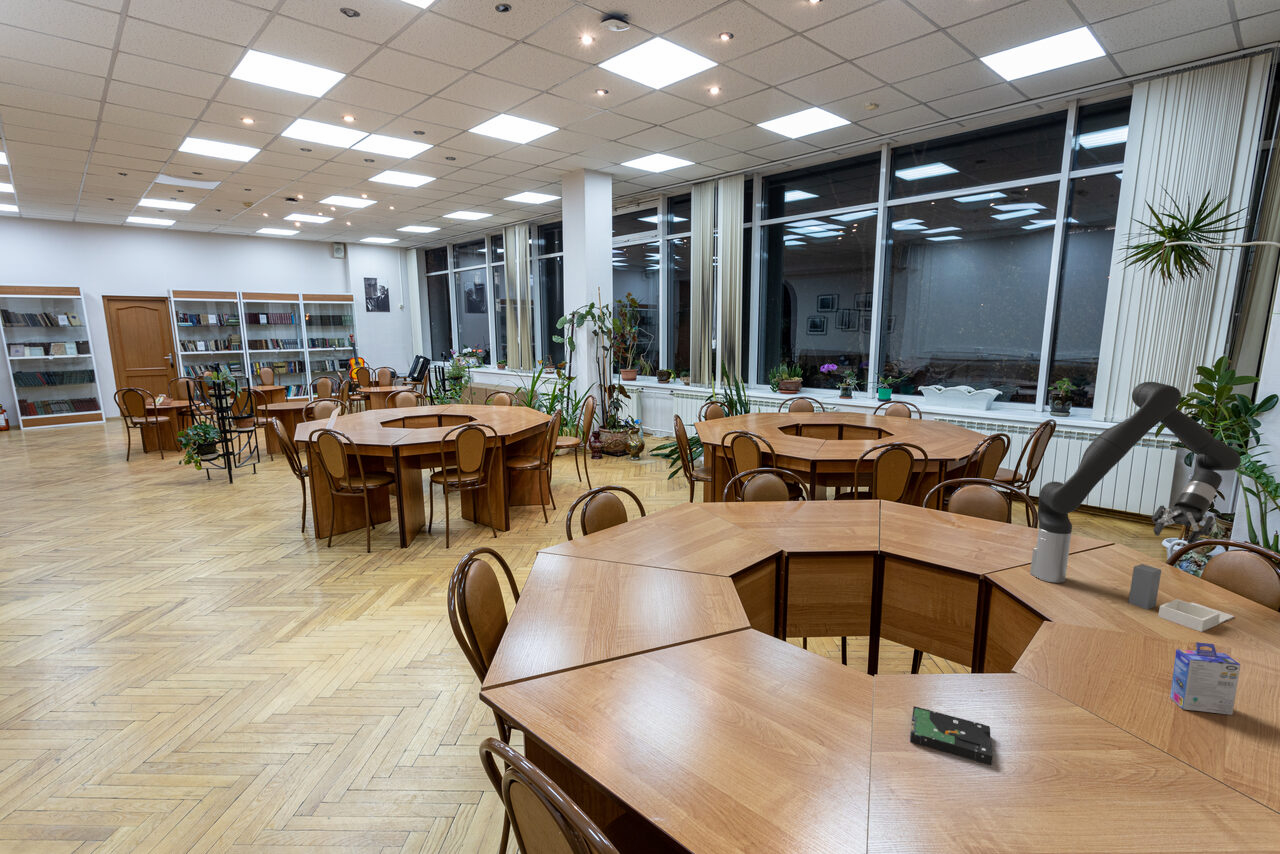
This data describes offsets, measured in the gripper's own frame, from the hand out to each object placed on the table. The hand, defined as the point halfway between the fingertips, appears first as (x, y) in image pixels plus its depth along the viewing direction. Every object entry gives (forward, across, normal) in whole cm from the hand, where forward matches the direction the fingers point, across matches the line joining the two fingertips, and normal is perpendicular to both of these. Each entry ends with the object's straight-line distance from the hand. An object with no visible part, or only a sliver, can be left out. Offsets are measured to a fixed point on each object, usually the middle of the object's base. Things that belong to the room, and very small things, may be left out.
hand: (1172, 538), depth 192 cm
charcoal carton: (+23, 0, +5) cm, 23 cm away
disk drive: (+101, +15, -74) cm, 126 cm away
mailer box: (+20, +11, +8) cm, 24 cm away
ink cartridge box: (+58, +33, -30) cm, 73 cm away
